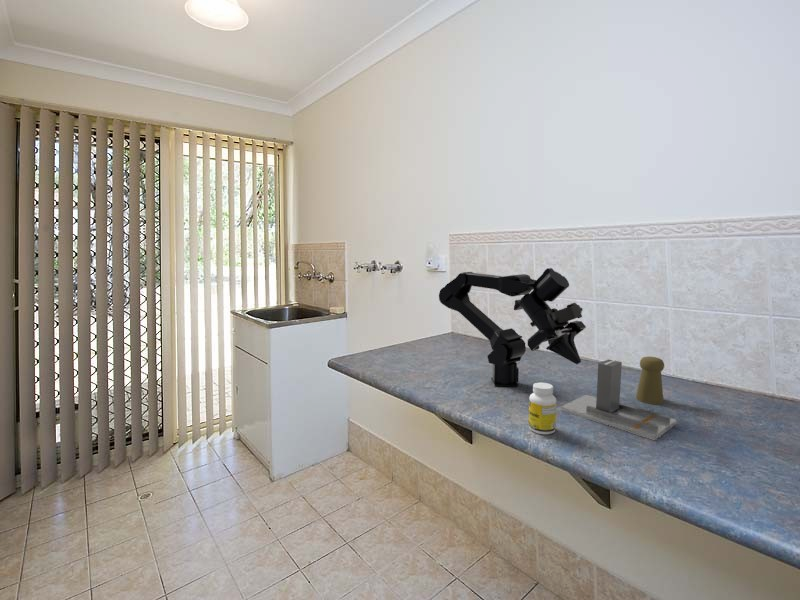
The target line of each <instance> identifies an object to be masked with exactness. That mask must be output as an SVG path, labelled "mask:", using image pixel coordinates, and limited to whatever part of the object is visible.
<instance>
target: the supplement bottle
mask: <svg viewBox="0 0 800 600" xmlns="http://www.w3.org/2000/svg"><path fill="white" fill-rule="evenodd" d="M528 403H529V404H528V405H529V406H528V427H529V430H530V431H531V432H533V433H536V434H537V435H538V434H539V435H551V434H553V433H555V432H556V425H557V424H556V422H557V421H556V419H557V418H556V417H557V398H556V397H555V395H554V386H553V385H552V384H551V383H547V382H534V383H533V385H532V393H530V395H529V400H528Z"/></svg>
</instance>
